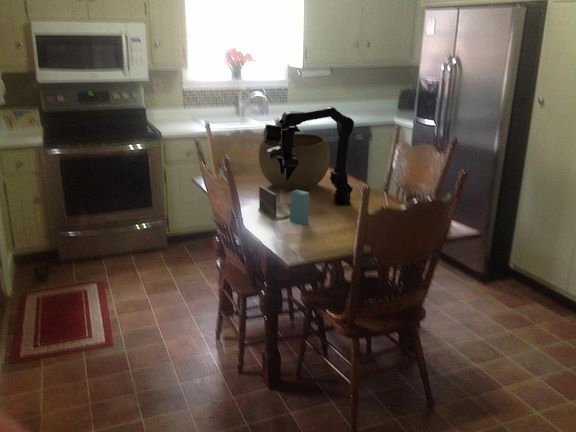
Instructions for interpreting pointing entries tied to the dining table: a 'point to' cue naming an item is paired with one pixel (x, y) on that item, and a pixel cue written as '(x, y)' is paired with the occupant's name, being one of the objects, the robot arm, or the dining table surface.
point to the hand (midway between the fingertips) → (284, 176)
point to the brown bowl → (311, 162)
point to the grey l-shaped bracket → (272, 205)
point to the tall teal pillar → (299, 207)
